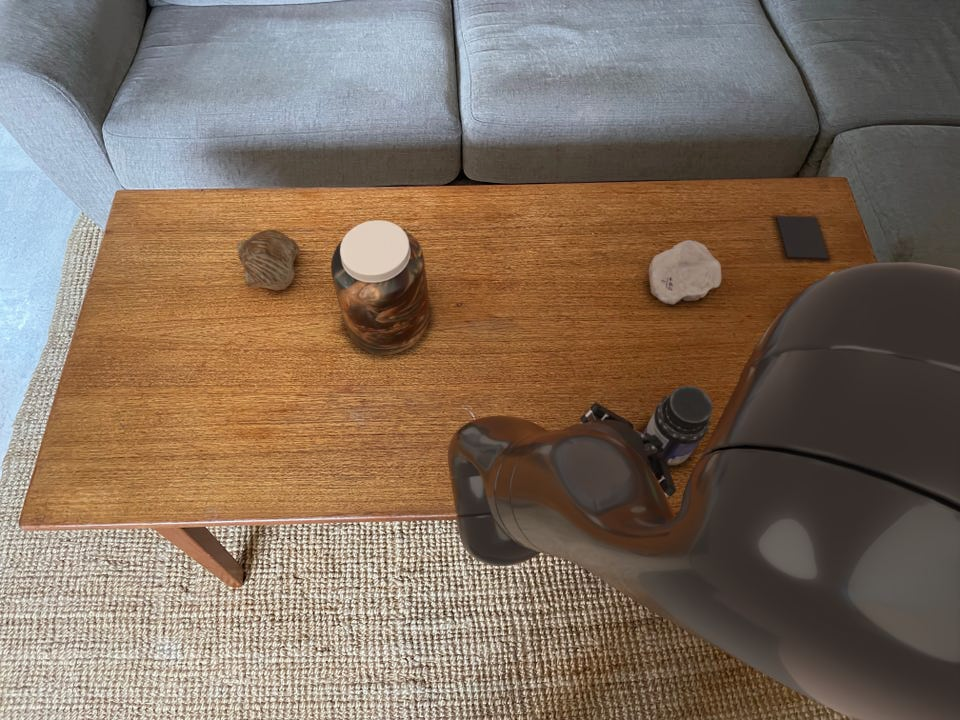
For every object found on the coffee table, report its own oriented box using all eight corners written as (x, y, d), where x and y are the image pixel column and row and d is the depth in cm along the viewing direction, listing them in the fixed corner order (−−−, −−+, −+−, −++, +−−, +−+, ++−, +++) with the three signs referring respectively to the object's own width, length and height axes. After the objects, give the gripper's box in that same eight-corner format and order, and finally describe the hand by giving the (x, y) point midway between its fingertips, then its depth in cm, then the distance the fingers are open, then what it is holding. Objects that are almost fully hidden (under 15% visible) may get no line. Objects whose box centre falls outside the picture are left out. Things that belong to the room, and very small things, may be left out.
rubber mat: (827, 259, 96) (828, 257, 95) (786, 258, 96) (788, 256, 95) (814, 219, 100) (816, 217, 100) (776, 217, 100) (777, 216, 100)
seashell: (240, 296, 92) (294, 300, 91) (219, 266, 85) (277, 269, 84) (259, 244, 96) (310, 247, 95) (240, 212, 90) (295, 215, 89)
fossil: (735, 283, 89) (686, 287, 84) (703, 311, 94) (656, 316, 89) (702, 235, 93) (654, 236, 88) (674, 264, 98) (627, 267, 92)
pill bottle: (694, 431, 81) (724, 389, 72) (685, 474, 78) (715, 436, 69) (645, 416, 82) (669, 372, 73) (635, 458, 79) (658, 419, 70)
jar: (334, 300, 91) (312, 226, 78) (413, 274, 93) (404, 198, 80) (360, 367, 85) (341, 299, 72) (443, 338, 88) (439, 268, 75)
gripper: (670, 492, 57) (719, 467, 71) (573, 384, 62) (637, 381, 77) (613, 544, 60) (671, 510, 74) (525, 436, 65) (595, 424, 79)
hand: (653, 444), depth 75 cm, fingers closed
